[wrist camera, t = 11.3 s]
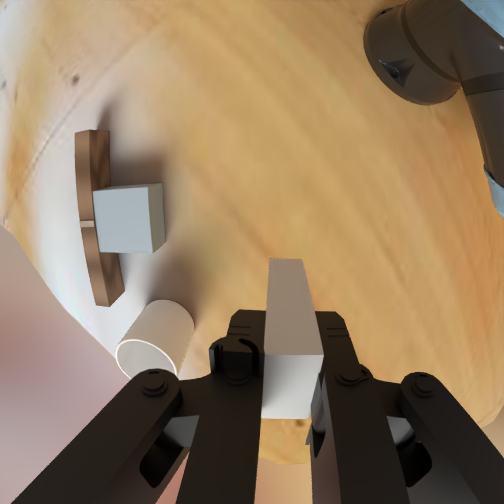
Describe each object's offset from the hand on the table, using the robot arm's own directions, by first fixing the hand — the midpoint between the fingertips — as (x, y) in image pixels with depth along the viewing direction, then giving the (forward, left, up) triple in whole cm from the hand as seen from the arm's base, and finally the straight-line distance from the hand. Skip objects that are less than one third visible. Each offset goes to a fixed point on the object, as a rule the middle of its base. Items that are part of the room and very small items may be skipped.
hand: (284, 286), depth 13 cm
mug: (+19, -17, -23) cm, 34 cm away
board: (+1, -24, -23) cm, 33 cm away
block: (+1, -18, -23) cm, 30 cm away
